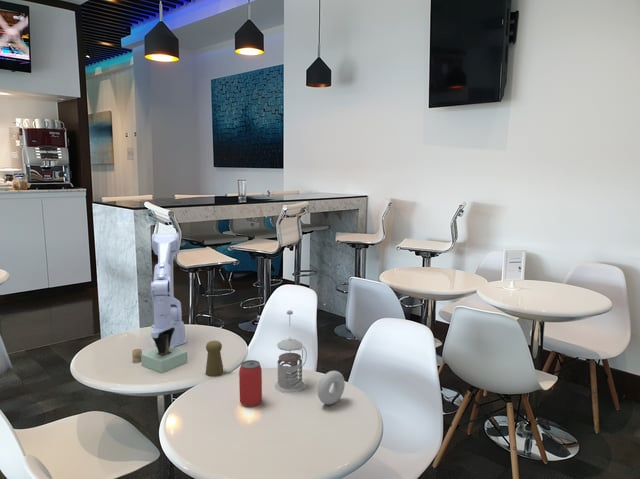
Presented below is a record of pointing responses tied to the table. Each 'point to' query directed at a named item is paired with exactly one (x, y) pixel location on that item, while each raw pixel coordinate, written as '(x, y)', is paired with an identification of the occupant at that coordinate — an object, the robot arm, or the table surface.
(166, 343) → the long pin
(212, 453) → the table surface
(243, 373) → the beer can
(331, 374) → the donut
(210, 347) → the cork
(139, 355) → the short pin
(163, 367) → the collar block
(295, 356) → the french press
